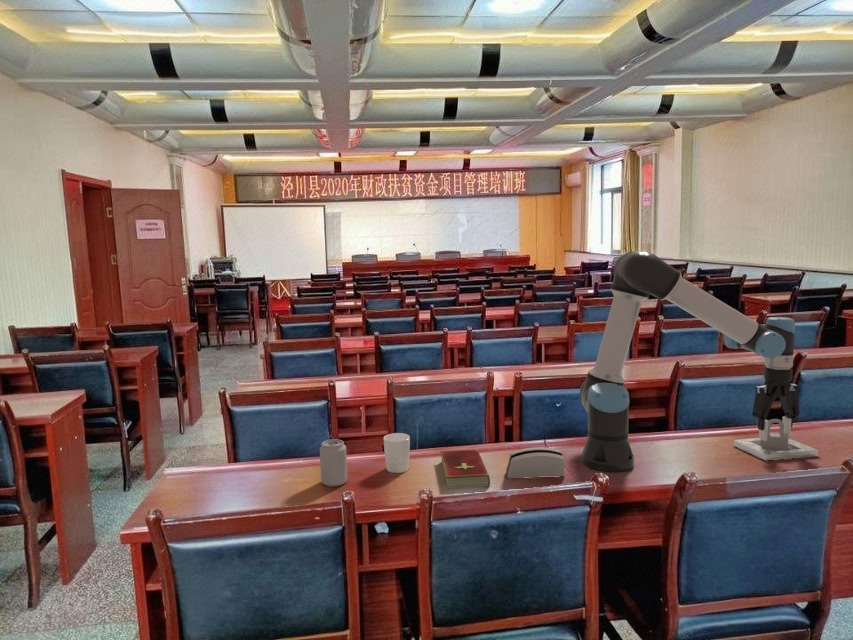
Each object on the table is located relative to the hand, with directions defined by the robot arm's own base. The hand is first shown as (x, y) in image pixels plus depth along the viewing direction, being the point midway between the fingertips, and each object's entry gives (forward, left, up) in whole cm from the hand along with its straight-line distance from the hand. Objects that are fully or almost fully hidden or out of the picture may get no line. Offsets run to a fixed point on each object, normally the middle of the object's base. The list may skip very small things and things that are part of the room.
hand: (774, 438), depth 180 cm
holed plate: (0, 0, -4) cm, 4 cm away
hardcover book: (-99, +5, -5) cm, 99 cm away
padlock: (0, 0, -4) cm, 4 cm away
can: (-137, +7, -4) cm, 137 cm away
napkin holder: (-80, -2, -4) cm, 80 cm away
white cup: (-118, +13, -4) cm, 119 cm away
